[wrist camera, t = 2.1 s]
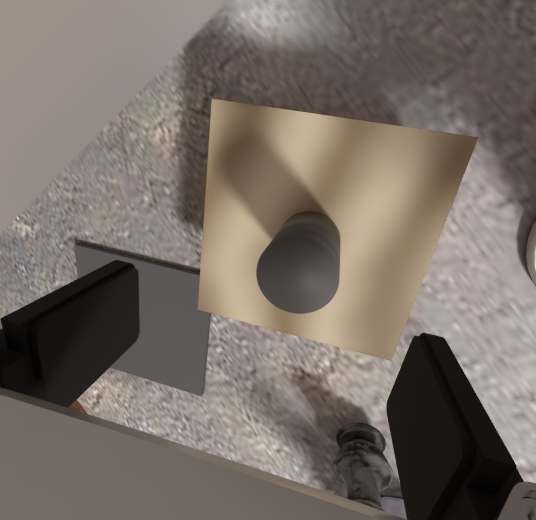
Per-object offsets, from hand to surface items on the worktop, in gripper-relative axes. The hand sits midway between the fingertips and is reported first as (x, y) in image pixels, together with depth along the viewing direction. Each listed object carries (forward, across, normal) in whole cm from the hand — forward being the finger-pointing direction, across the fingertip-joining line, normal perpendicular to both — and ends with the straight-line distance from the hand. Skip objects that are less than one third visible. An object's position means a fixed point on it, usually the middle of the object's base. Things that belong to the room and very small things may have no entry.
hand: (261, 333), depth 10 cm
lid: (+12, -1, 0) cm, 12 cm away
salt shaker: (+18, -11, +24) cm, 32 cm away
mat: (+18, +16, +16) cm, 29 cm away
